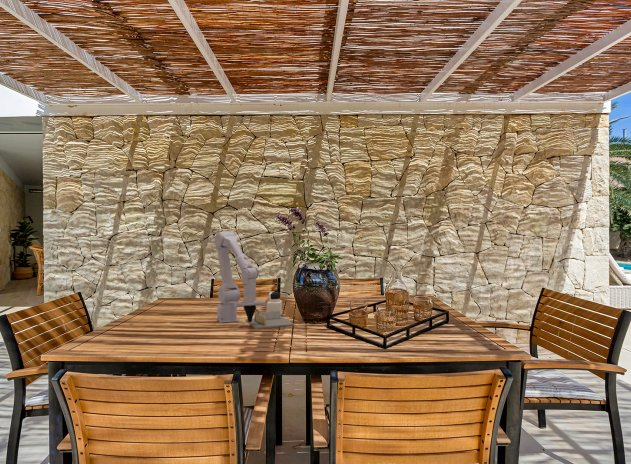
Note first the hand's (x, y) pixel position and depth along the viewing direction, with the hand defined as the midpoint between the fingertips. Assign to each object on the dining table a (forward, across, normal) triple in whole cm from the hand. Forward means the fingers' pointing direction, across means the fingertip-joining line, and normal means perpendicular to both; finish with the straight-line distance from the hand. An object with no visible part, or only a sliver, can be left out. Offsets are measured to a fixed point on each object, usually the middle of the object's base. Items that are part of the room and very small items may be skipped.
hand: (249, 321), depth 219 cm
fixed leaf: (+1, +11, +8) cm, 13 cm away
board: (+2, +10, +3) cm, 11 cm away
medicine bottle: (+2, +18, +21) cm, 28 cm away
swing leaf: (+1, +6, +2) cm, 6 cm away
